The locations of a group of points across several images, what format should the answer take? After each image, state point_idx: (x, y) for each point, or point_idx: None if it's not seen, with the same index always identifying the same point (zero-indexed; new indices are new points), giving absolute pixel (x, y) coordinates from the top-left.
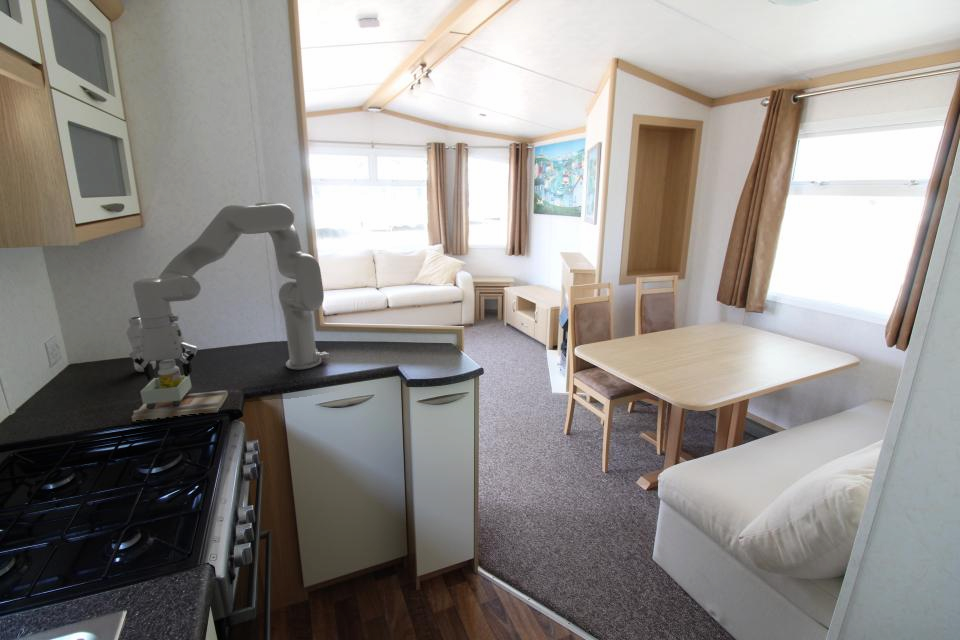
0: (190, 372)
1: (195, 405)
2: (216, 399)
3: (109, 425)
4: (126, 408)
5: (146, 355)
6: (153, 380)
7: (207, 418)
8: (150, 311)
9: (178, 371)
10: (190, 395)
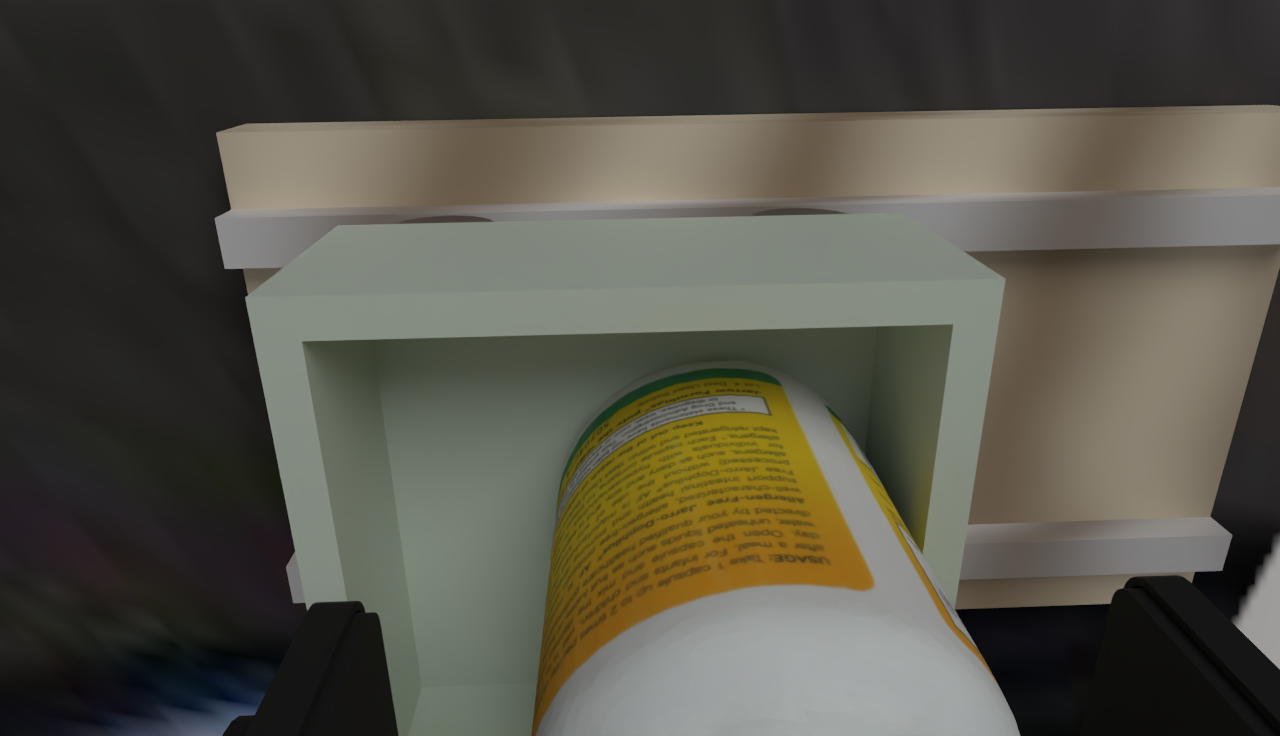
0: (1171, 592)
1: (973, 577)
2: (1177, 394)
3: (133, 623)
4: (12, 230)
5: None
6: (311, 427)
7: (1062, 669)
8: None
9: None
10: None
